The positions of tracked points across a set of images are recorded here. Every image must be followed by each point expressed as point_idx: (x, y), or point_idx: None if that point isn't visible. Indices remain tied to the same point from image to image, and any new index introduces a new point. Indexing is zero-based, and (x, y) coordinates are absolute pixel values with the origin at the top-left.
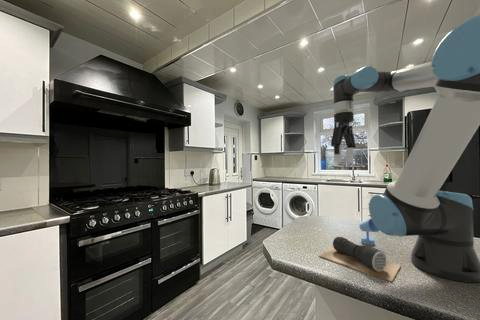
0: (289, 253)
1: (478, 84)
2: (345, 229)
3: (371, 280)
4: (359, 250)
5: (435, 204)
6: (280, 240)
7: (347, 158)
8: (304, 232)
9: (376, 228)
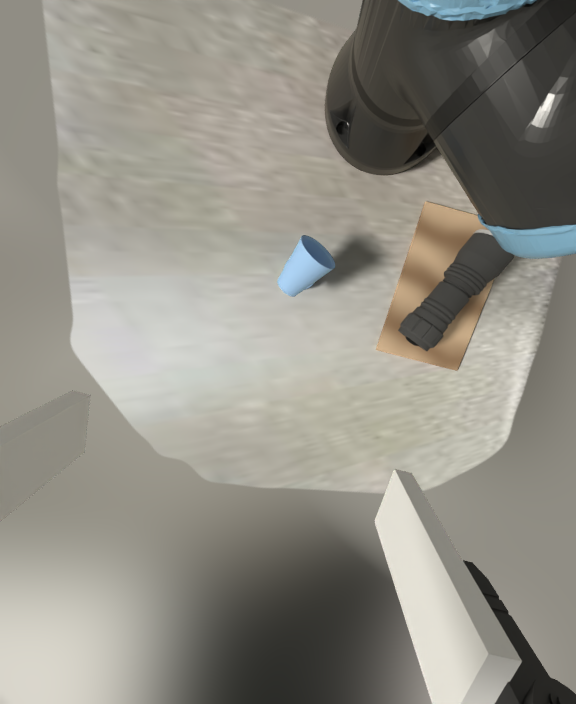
0: (466, 428)
1: None
2: (207, 338)
3: (521, 262)
4: (483, 287)
5: None
6: (399, 468)
7: (54, 468)
8: (305, 435)
9: (305, 245)
